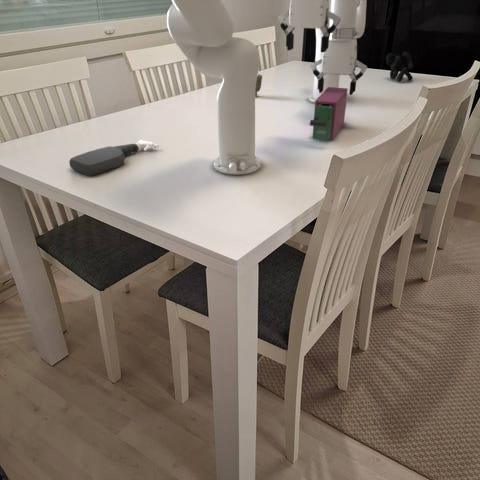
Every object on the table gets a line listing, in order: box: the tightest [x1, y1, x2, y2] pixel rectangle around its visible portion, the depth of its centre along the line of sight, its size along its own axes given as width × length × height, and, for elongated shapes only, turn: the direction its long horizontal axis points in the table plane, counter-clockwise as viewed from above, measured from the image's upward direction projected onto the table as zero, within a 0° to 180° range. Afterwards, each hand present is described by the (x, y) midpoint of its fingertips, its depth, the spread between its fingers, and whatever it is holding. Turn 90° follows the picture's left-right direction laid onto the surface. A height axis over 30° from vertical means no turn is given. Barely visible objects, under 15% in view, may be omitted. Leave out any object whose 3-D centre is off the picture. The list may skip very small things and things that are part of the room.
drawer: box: [309, 104, 334, 141], centre depth 136 cm, size 22×5×10 cm, turn 158°
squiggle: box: [385, 51, 414, 83], centre depth 198 cm, size 11×10×15 cm
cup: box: [255, 73, 263, 97], centre depth 179 cm, size 8×7×8 cm
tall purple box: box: [314, 87, 349, 141], centre depth 140 cm, size 18×6×11 cm, turn 158°
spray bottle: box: [68, 139, 160, 177], centre depth 124 cm, size 3×11×24 cm
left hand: (306, 50), depth 123 cm, fingers open, 9 cm apart
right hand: (335, 93), depth 142 cm, fingers open, 9 cm apart
